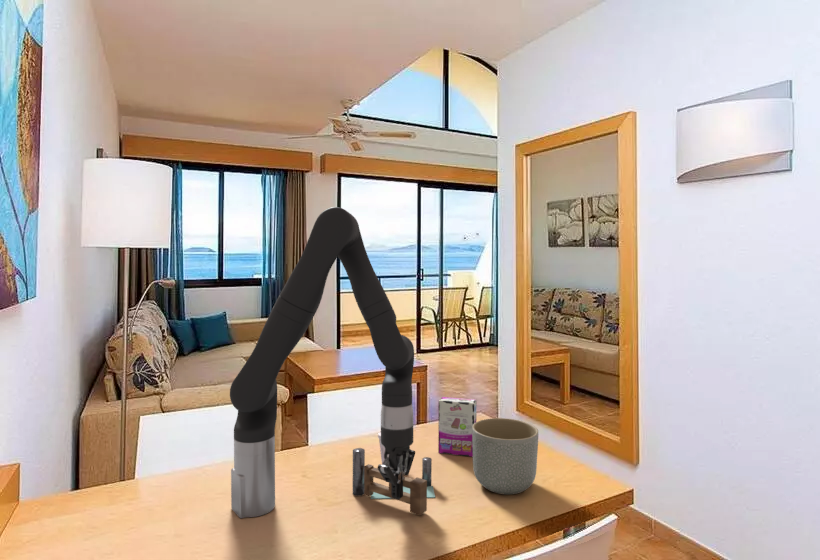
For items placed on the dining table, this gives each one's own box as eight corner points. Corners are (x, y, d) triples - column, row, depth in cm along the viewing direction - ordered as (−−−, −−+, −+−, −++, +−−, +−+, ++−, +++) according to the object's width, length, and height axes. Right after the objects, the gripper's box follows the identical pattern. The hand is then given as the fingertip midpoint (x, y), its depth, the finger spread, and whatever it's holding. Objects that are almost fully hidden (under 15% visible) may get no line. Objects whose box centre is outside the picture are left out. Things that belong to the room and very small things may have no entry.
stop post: (426, 488, 130) (426, 461, 129) (420, 484, 131) (420, 458, 131) (433, 485, 131) (433, 459, 131) (427, 482, 133) (427, 456, 133)
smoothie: (399, 471, 140) (399, 422, 139) (376, 471, 140) (376, 421, 139) (400, 462, 146) (400, 414, 145) (378, 462, 146) (378, 414, 145)
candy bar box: (476, 451, 155) (477, 399, 154) (474, 457, 150) (474, 403, 149) (441, 447, 158) (441, 395, 157) (437, 453, 153) (438, 400, 152)
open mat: (370, 499, 124) (370, 498, 124) (371, 487, 130) (371, 487, 130) (435, 497, 124) (435, 497, 124) (432, 486, 130) (432, 486, 130)
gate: (362, 495, 124) (362, 467, 124) (369, 491, 126) (369, 463, 126) (420, 515, 114) (420, 484, 114) (426, 510, 117) (426, 480, 117)
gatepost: (356, 497, 124) (356, 453, 124) (350, 492, 127) (350, 449, 126) (366, 493, 126) (367, 450, 126) (360, 489, 129) (360, 447, 128)
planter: (534, 506, 121) (535, 443, 120) (465, 495, 126) (466, 434, 125) (539, 477, 137) (540, 421, 136) (478, 468, 142) (479, 415, 141)
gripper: (395, 433, 108) (395, 513, 108) (425, 418, 119) (425, 490, 119) (366, 428, 112) (367, 505, 112) (398, 413, 123) (399, 483, 123)
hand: (397, 497), depth 116 cm, fingers closed
